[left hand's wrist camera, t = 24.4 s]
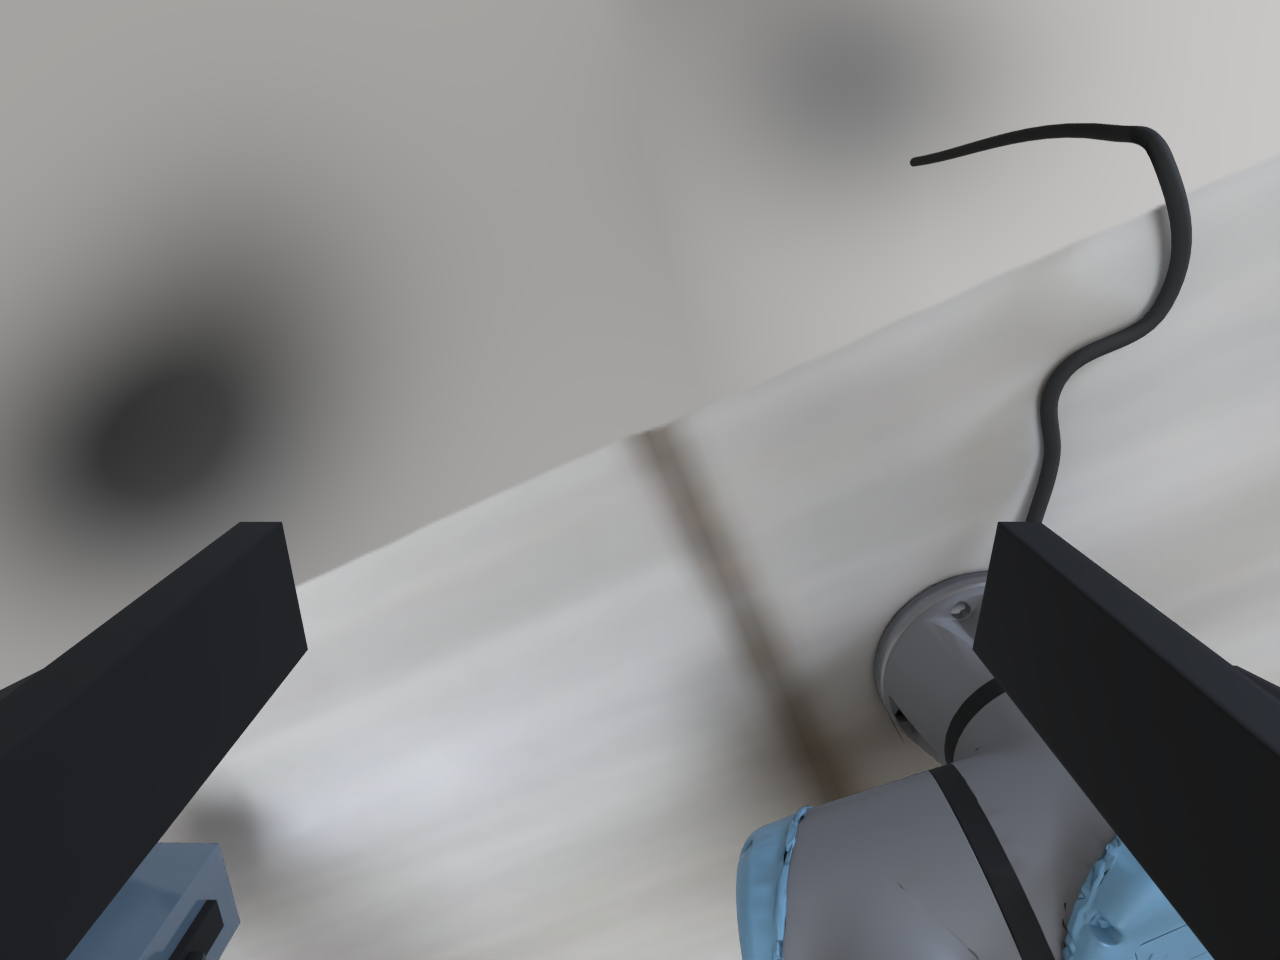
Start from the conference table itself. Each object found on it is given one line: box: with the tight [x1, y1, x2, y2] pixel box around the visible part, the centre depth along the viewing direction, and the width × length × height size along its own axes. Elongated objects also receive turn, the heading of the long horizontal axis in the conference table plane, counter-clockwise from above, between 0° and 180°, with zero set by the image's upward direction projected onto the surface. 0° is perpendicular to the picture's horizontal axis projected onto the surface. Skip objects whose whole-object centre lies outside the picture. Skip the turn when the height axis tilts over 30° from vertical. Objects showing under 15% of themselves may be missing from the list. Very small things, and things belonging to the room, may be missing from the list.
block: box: [66, 843, 240, 960], centre depth 48 cm, size 7×8×10 cm
